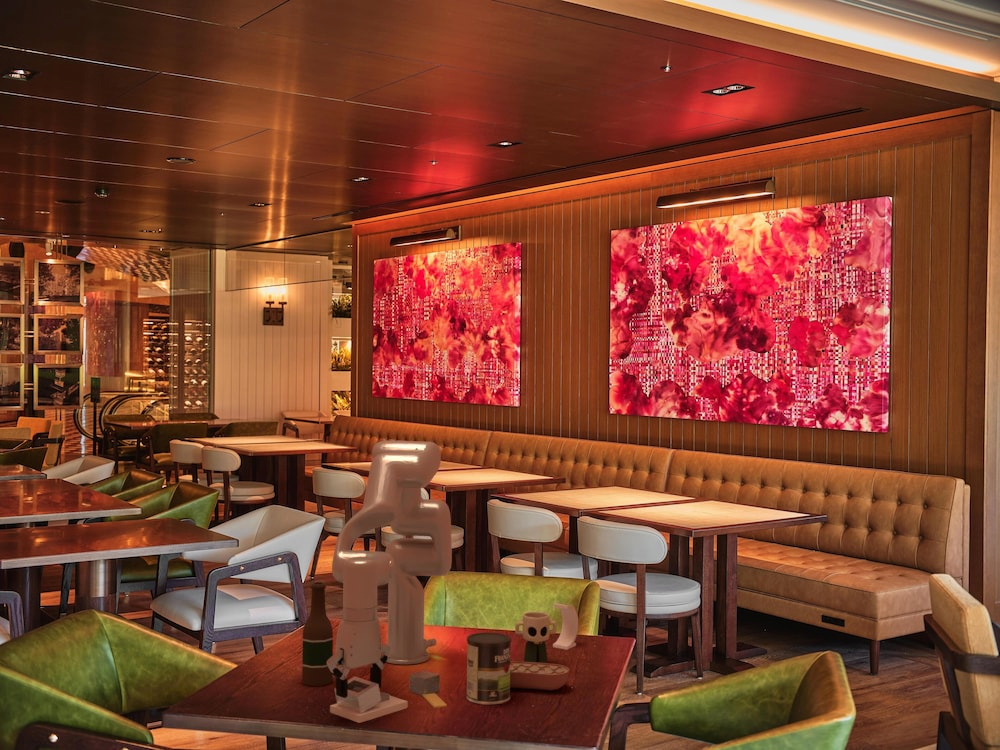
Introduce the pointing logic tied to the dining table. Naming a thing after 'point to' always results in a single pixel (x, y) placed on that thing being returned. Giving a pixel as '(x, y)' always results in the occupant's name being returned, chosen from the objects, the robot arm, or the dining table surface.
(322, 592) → the beer bottle
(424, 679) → the block
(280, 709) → the dining table surface
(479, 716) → the dining table surface
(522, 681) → the mitochondrion model
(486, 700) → the coffee can
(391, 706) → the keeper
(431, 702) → the yellow flat bar
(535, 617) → the character mug
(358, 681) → the link
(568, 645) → the headphone stand
